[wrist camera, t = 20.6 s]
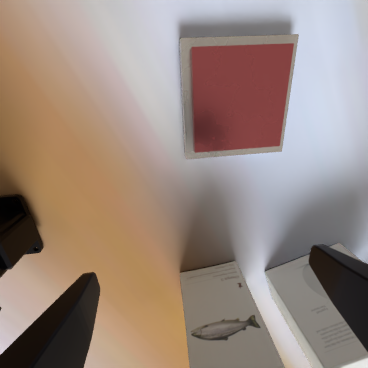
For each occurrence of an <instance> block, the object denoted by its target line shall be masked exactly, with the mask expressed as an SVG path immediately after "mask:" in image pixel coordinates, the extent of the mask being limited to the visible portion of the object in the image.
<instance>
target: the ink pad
mask: <svg viewBox="0 0 368 368" xmlns="http://www.w3.org/2000/svg"><path fill="white" fill-rule="evenodd" d="M298 35H299V34H294V35H261V36H229V37H196V38H180V41H179V49H180V69H181V88H182V108H183V127H184V147H185V157H186V159H194V158H207V157H219V156H231V155H244V154H256V153H268V152H281V151H282V146H283V139H284V132H285V125H286V118H287V111H288V104H289V98H290V91H291V84H292V77H293V70H294V63H295V56H296V49H297V42H298Z"/></svg>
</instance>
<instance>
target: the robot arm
mask: <svg viewBox="0 0 368 368" xmlns="http://www.w3.org/2000/svg"><path fill="white" fill-rule="evenodd" d="M15 199H16V200H17V201H18V202H17V201H16V200H15ZM36 247H37V248H36ZM42 249H43V244H42V242H41V240H40V237H39V234H38V232H37V229H36V227H35V225H34V222H33V220H32V217H31V216H30V213H29V211H28V208H27V206H26V204H25V201H24V199H23V197H22V196H20V195H16V194H15V195H4V196H0V278H1V277H2V275H3V274H4V273H5V272H6V271H7V270H8V269H12V268H13V267H14V265H15V264H16V263H17V262H18V261H19V260H20V259H21V258H22V256H23V255H25V254H34V253H39V252H41V251H42ZM308 261H309V265H310V267H311V269H312V270H313V272H314V274H315V275H316V277H317V279H318V280H319V282H320V284H321V285H322V287H323V289H324V290H325V292H326V294H327V295H328V297H329V299H330V300H331V302H332V303H333V305H334V306H335V308H336V309H337V310H338V312H339V313H340V315H341V316H342V317H343V319H344V320H345V321H346V323H347V324H348V326H349V327H350V328H351V330H352V331H353V333H354V334H355V335H356V337H357V338H358V340H359V341H360V342H361V344H362V345H363V347H364V348H365V349H366V351H367V352H368V264H366V263H364V262H362V261H359V260H357V259H355V258H353V257H351V256H348V255H346V254H344V253H342V252H339V251H337V250H335V249H333V248H331V247H328V246H326V245H323V244H319V245H313V246H312V248H311V251H310V255H309V260H308ZM99 296H100V286H99V283H98V279H97V276H96V274H95V273H94V272H91V273H84V274H82V275H81V276H80V277H79V278H78V279H77V280H76V281H75V282H74V283H73V284H72V285H71V286H70V287H69V288H68V289H67V290H66V291H65V292H64V293H63V294H62V295H61V296H60V297H59V298H58V299H57V300H56V301H55V302H54V303H53V304H52V305H51V306H50V307H49V308H48V309H47V310H46V311H45V312H44V313H43V314H42V315H41V316H40V317H39V318H37V319H36V320H35V321H34V322H33V323H32V324H31V325H30V326H29V327H28V328H27V329H26V330H25V331H24V332H23V333H22V334H21V335H20V336H19V337H18V338H17V339H16V340H15V341H14V342H13V343H12V344H11V345H10V346H9V347H8V348H7V349H6V350H5V351H4V352H3V353H2V354H1V355H0V368H84V364H85V360H86V357H87V353H88V350H89V346H90V342H91V338H92V334H93V329H94V323H95V318H96V312H97V307H98V301H99ZM0 310H1V307H0Z"/></svg>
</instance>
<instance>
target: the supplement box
mask: <svg viewBox="0 0 368 368" xmlns="http://www.w3.org/2000/svg"><path fill="white" fill-rule="evenodd" d="M180 282H181V291H182V299H183V308H184V317H185V325H186V335H187V345H188V355H189V366H190V368H285V367H284V364H283V362H282V360H281V358H280V356H279V353H278V351H277V349H276V347H275V345H274V342H273V340H272V338H271V336H270V334H269V331H268V329H267V327H266V325H265V323H264V321H263V318H262V316H261V314H260V312H259V310H258V308H257V306H256V303H255V301H254V299H253V297H252V295H251V292H250V290H249V288H248V286H247V284H246V282H245V279H244V277H243V275H242V273H241V271H240V268H239V266H238V264H237V262H236V261H233V262H229V263H225V264H221V265H217V266H212V267H208V268H203V269H198V270H193V271H188V272H182V273H180Z"/></svg>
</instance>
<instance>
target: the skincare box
mask: <svg viewBox="0 0 368 368" xmlns="http://www.w3.org/2000/svg"><path fill="white" fill-rule="evenodd" d="M329 247H331V248H333V249H335V250H337V251H339V252H342V253H344V254H346V255H348V256H351V257H353V258H355V259H357V260H359V261H361V260H360V259H358V258H357V257H356V256H355V255H353V254H352V253H351V252H350V251H349V250H347V249H346V248H345V247H344V246H343V245H342V244H340V243H337V244H334V245H332V246H329ZM309 255H310V254H309ZM309 255H306V256H303V257H301V258H298V259H296V260H293V261H290V262H288V263H285V264H283V265H280V266H278V267H275V268H272V269H270V270H267V271H265V275H266V279H267V282H268V286H269V289H270V292H271V296H272V299H273V301H274V302H275V304H276V306H277V307H278V309H279V311H280V313H281V315H282V316H283V318H284V320H285V321H286V323H287V325H288V327H289V329H290V330H291V332H292V334H293V335H294V337H295V339H296V341H297V342H298V344H299V346H300V348H301V349H302V351H303V353H304V354H305V356H306V358H307V360H308V362H309V363H310V365H311V367H312V368H368V352H367V351H366V349H365V348H364V347H363V345H362V344H361V342H360V341H359V340H358V338H357V337H356V335H355V334H354V333H353V331H352V330H351V328H350V327H349V326H348V324H347V323H346V321H345V320H344V319H343V317H342V316H341V315H340V313H339V312H338V310H337V309H336V308H335V306H334V305H333V303H332V302H331V300H330V299H329V297H328V295H327V294H326V292H325V290H324V289H323V287H322V285H321V284H320V282H319V280H318V279H317V277H316V275H315V274H314V272H313V270H312V269H311V267H310V265H309V261H308V260H309Z"/></svg>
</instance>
